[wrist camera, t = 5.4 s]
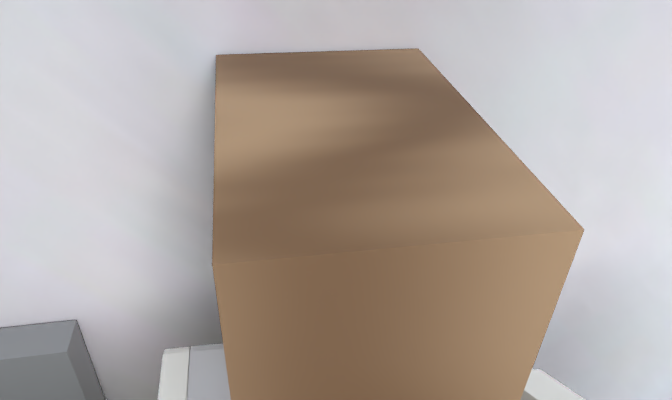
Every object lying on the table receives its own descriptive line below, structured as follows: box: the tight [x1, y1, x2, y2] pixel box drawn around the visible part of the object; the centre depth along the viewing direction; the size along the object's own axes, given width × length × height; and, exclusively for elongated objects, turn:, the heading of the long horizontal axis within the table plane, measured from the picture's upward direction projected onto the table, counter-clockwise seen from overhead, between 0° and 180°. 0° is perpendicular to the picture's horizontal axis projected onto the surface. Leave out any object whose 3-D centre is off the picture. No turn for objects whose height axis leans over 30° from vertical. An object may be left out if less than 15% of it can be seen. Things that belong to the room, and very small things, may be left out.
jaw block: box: [212, 49, 584, 400], centre depth 11 cm, size 4×11×6 cm, turn 178°
